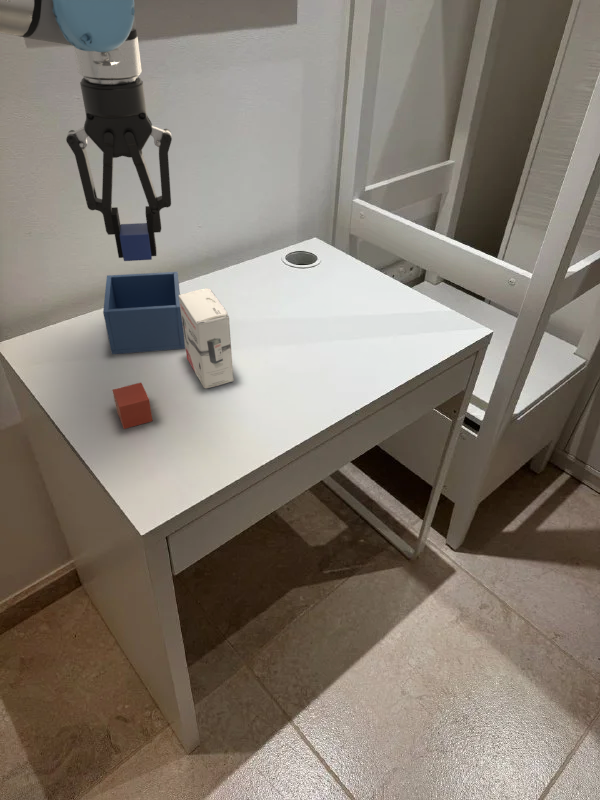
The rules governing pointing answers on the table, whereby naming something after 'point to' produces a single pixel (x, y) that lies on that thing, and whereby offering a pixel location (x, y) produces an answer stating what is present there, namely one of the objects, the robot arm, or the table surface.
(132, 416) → the terracotta block
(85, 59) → the robot arm
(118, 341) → the blue bin
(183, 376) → the table surface
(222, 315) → the ink box
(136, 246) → the blue block
